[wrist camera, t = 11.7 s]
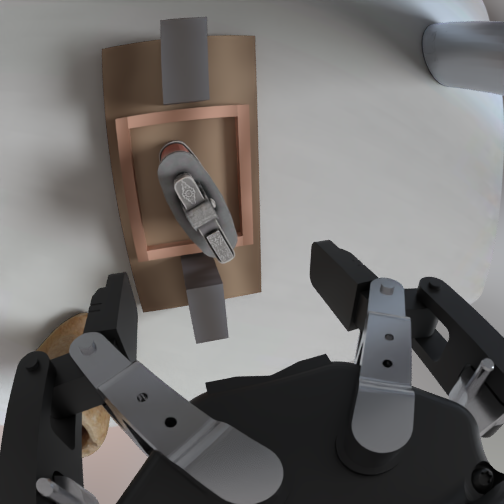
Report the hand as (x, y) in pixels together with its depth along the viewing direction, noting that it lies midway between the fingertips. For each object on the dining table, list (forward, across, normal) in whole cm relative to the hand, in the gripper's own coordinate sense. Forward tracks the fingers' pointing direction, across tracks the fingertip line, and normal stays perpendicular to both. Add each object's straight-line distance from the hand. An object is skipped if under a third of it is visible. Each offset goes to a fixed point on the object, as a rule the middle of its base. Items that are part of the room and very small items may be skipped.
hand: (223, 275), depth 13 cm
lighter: (+16, 0, 0) cm, 16 cm away
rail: (+17, 0, 0) cm, 17 cm away
